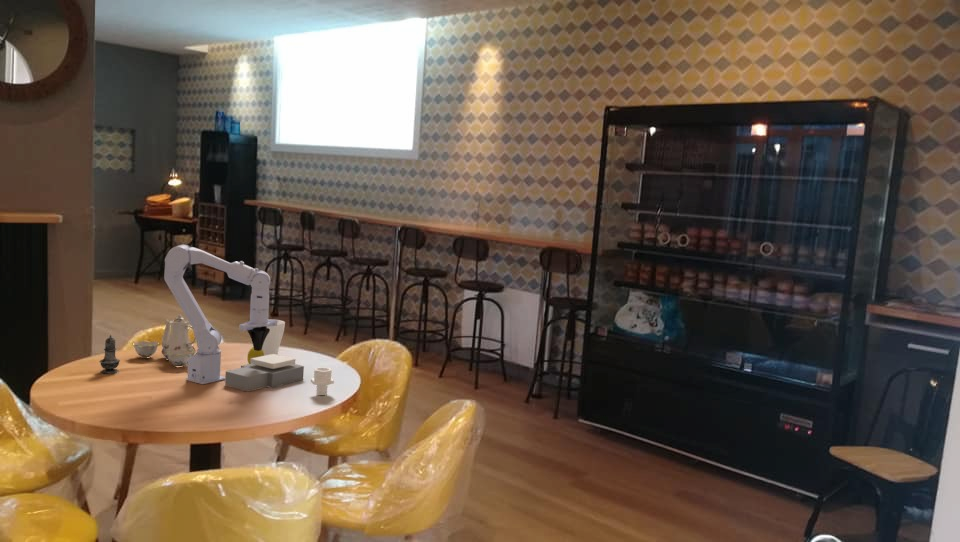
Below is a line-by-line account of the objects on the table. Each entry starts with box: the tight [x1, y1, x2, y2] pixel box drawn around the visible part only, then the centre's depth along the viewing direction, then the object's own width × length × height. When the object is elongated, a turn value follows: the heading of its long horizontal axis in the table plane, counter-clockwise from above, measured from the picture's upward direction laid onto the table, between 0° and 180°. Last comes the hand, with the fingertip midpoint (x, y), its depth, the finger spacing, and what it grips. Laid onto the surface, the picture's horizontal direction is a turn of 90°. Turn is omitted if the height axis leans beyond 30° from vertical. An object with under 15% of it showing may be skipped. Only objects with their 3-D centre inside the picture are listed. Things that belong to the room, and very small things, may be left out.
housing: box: [224, 363, 305, 392], centre depth 228 cm, size 22×14×4 cm, turn 151°
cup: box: [262, 318, 286, 356], centre depth 259 cm, size 10×10×14 cm
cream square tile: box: [250, 354, 296, 369], centre depth 231 cm, size 10×10×2 cm
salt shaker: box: [99, 335, 121, 375], centre depth 226 cm, size 6×6×12 cm
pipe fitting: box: [310, 366, 335, 396], centre depth 219 cm, size 6×7×8 cm
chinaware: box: [132, 313, 197, 368], centre depth 245 cm, size 28×17×17 cm, turn 66°
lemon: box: [247, 346, 264, 364], centre depth 243 cm, size 6×6×8 cm
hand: (257, 350), depth 229 cm, fingers closed
